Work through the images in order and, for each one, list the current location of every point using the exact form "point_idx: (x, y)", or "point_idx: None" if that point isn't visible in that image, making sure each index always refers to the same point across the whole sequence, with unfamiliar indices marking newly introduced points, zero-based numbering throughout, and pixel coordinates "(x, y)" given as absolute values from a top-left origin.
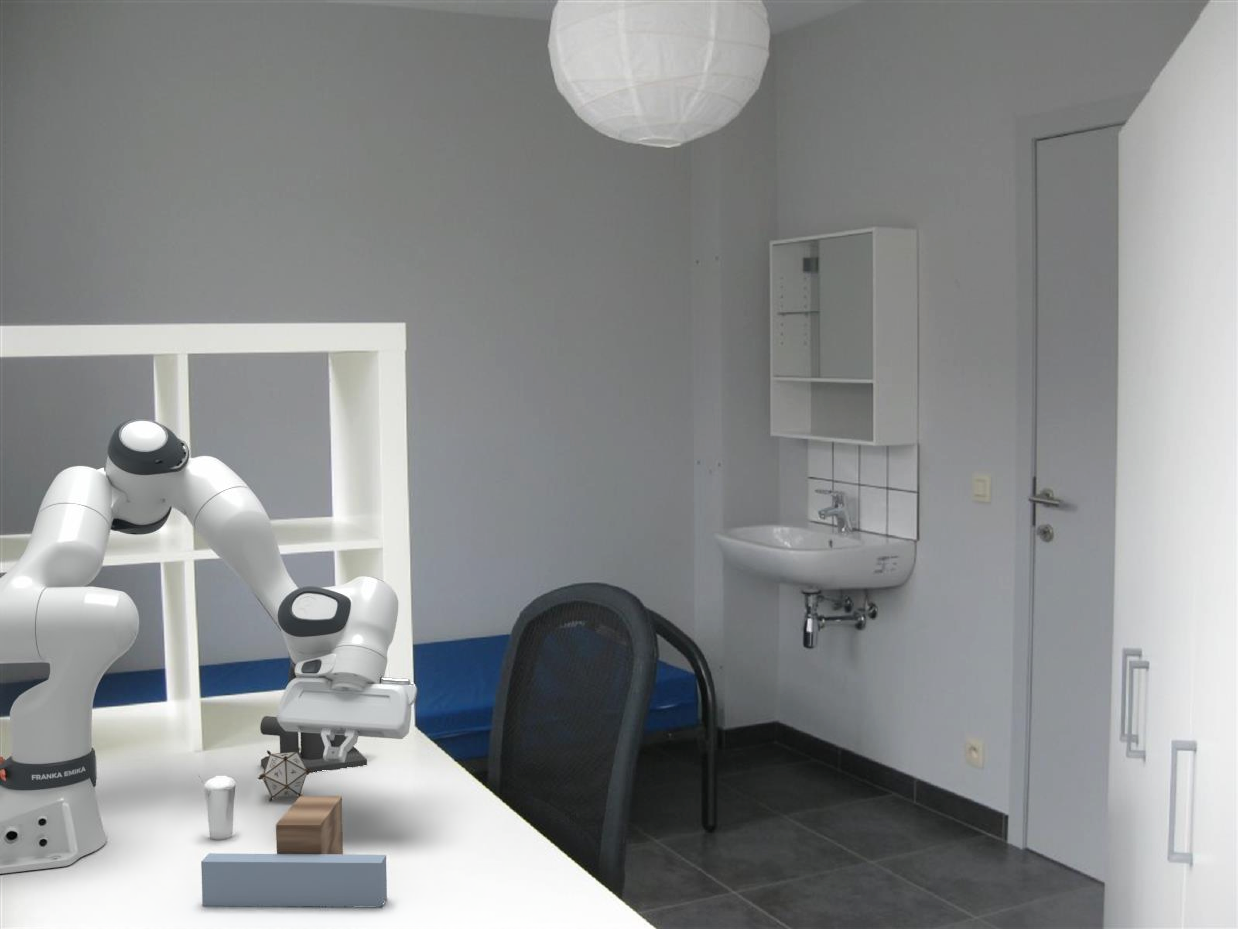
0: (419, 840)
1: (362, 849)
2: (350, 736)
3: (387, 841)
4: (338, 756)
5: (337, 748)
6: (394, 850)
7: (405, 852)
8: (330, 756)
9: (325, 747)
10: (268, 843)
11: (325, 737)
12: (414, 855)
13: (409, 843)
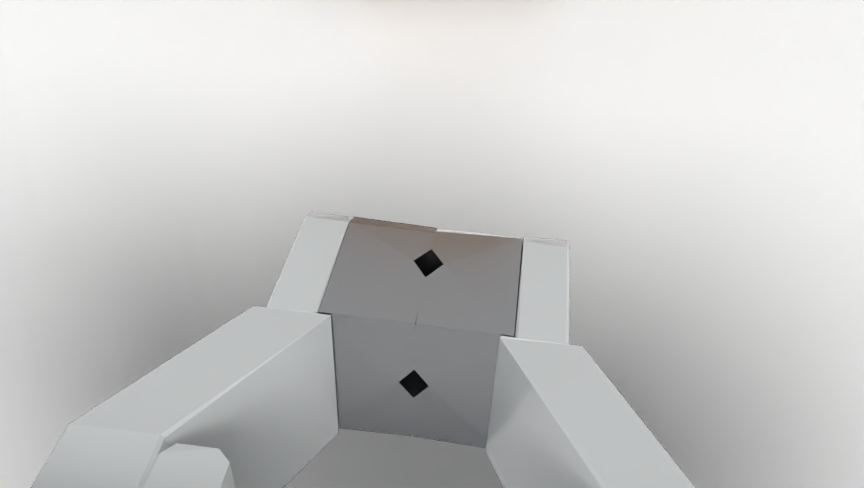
0: (43, 341)
1: (305, 202)
2: (115, 432)
3: (203, 322)
4: (348, 222)
5: (365, 300)
6: (139, 194)
7: (78, 168)
8: (462, 235)
9: (560, 324)
10: (838, 275)
11: (603, 456)
12: (25, 128)
13: (85, 296)
